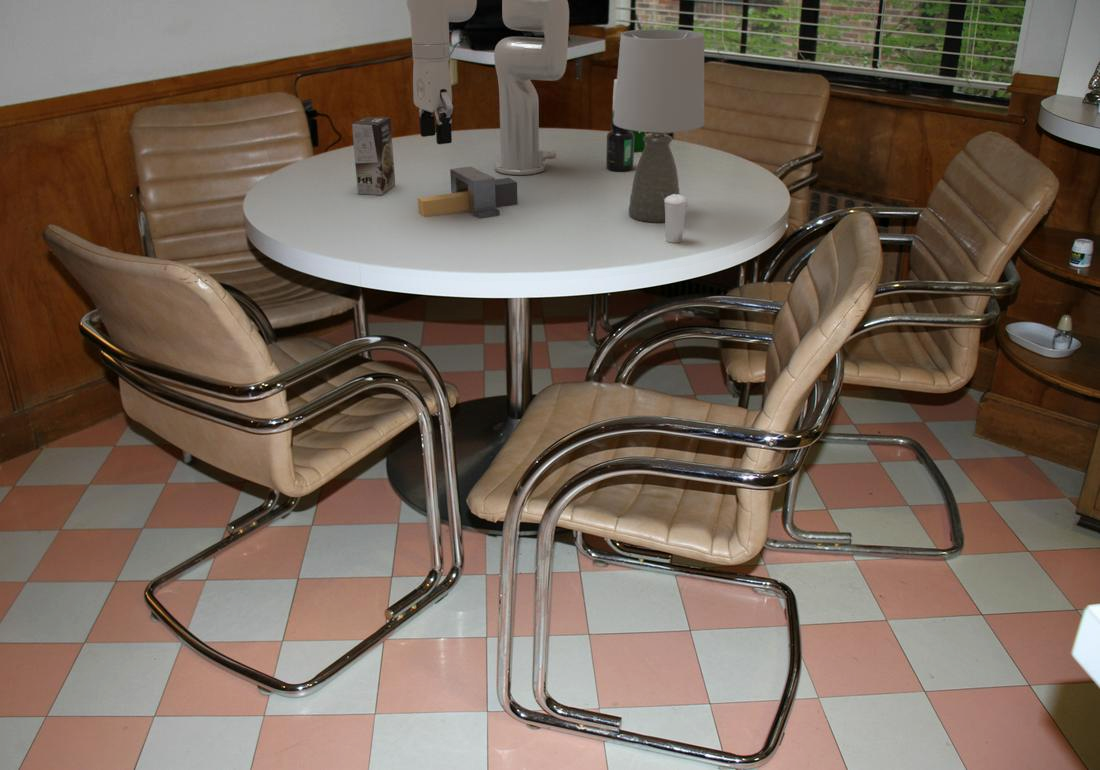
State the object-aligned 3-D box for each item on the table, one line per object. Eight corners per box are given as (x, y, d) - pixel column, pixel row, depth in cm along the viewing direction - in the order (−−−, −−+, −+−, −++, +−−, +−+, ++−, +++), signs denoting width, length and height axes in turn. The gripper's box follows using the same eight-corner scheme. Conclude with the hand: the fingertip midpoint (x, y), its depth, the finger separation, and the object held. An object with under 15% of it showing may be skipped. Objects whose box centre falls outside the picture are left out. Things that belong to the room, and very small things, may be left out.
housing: (468, 197, 225) (466, 164, 222) (500, 215, 213) (499, 180, 209) (448, 200, 223) (446, 167, 220) (479, 218, 211) (477, 183, 207)
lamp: (715, 215, 212) (728, 33, 196) (659, 234, 200) (668, 42, 184) (649, 198, 224) (656, 26, 208) (593, 215, 212) (595, 34, 196)
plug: (509, 199, 224) (508, 177, 222) (517, 204, 220) (517, 182, 218) (417, 212, 215) (416, 190, 213) (424, 217, 211) (423, 194, 209)
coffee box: (383, 195, 227) (377, 124, 220) (356, 194, 228) (350, 123, 221) (396, 185, 235) (391, 116, 228) (371, 184, 236) (365, 115, 229)
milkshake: (656, 237, 198) (658, 188, 194) (682, 236, 199) (685, 187, 194) (660, 244, 194) (662, 194, 190) (687, 243, 195) (690, 193, 190)
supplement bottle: (634, 172, 246) (635, 123, 240) (606, 172, 246) (607, 123, 241) (632, 165, 252) (634, 117, 247) (605, 165, 252) (606, 117, 247)
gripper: (397, 48, 205) (403, 134, 213) (431, 58, 191) (436, 149, 199) (431, 45, 208) (435, 130, 216) (466, 55, 194) (470, 145, 202)
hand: (436, 139), depth 207 cm, fingers open, 7 cm apart
